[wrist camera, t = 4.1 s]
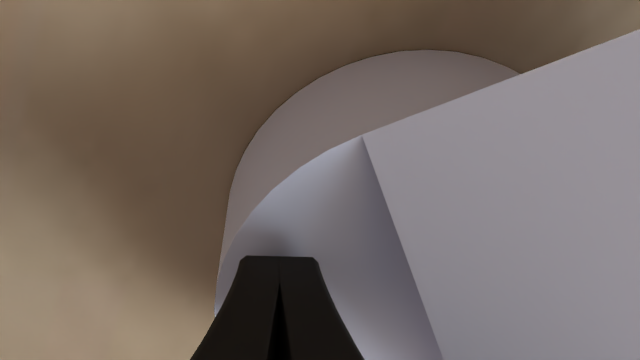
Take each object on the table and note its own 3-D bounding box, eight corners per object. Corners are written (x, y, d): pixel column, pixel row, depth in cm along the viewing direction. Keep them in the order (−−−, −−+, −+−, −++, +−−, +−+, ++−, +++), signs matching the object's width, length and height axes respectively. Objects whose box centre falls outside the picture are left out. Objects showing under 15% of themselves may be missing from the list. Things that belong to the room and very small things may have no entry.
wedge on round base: (750, -97, 12) (159, 139, 14) (1189, -17, 6) (72, 368, 8) (760, 243, 16) (310, 386, 18) (1020, 475, 11) (323, 649, 13)
